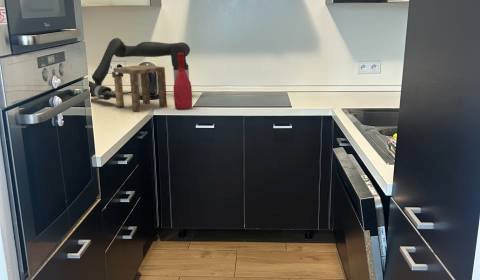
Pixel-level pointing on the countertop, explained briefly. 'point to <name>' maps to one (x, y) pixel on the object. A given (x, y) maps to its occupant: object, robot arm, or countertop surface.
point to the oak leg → (119, 91)
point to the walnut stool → (144, 83)
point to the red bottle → (182, 87)
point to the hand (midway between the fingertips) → (118, 96)
